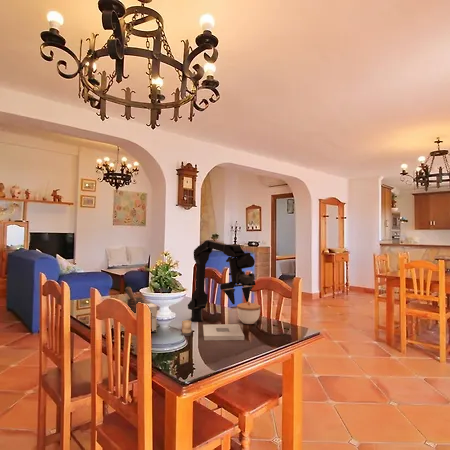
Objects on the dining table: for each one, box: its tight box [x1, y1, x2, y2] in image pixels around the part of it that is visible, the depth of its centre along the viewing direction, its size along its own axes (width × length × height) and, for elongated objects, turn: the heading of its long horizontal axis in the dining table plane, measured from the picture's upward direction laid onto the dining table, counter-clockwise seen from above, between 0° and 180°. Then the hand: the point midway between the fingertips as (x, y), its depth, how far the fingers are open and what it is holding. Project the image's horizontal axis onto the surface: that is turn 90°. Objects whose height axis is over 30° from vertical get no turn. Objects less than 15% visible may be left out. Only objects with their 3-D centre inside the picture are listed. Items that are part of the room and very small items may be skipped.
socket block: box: [202, 323, 245, 341], centre depth 154 cm, size 18×18×2 cm
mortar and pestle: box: [124, 286, 145, 313], centre depth 167 cm, size 12×9×20 cm
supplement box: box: [146, 303, 158, 331], centre depth 156 cm, size 7×7×13 cm
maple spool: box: [181, 319, 193, 337], centre depth 152 cm, size 4×4×6 cm
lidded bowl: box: [236, 301, 261, 325], centre depth 176 cm, size 13×13×11 cm
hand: (240, 303), depth 153 cm, fingers open, 9 cm apart
